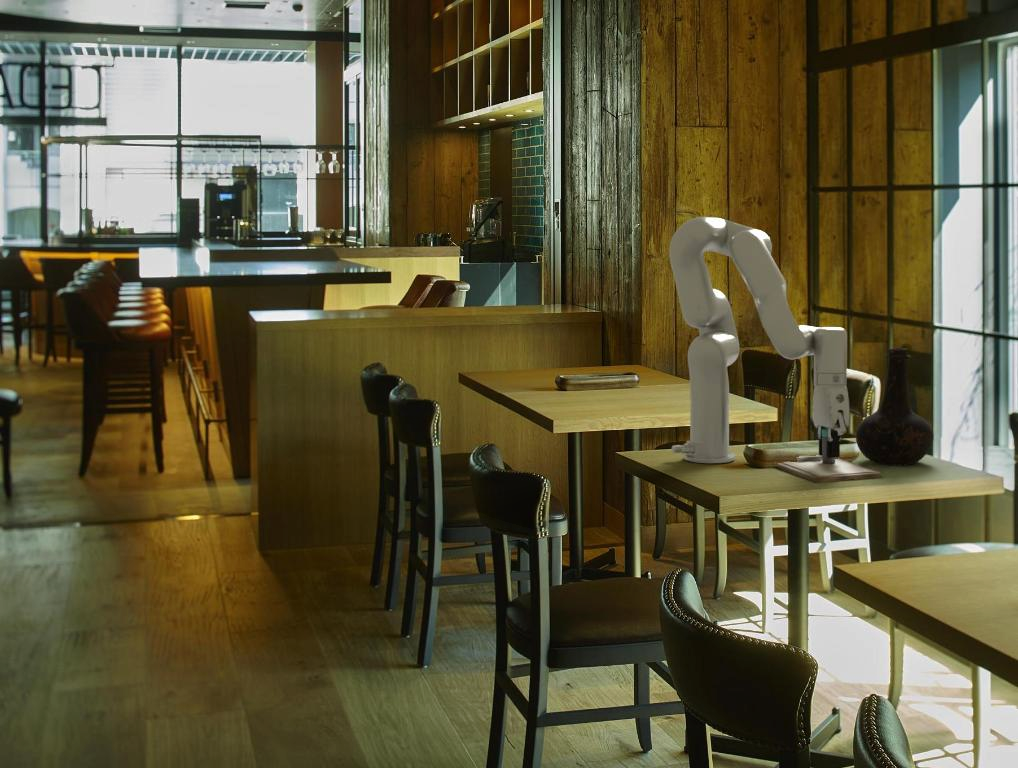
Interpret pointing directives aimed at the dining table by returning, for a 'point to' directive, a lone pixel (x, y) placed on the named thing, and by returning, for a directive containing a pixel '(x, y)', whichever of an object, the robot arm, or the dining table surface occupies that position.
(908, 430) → the glass bottle
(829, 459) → the marker
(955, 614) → the dining table surface
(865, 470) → the writing board
